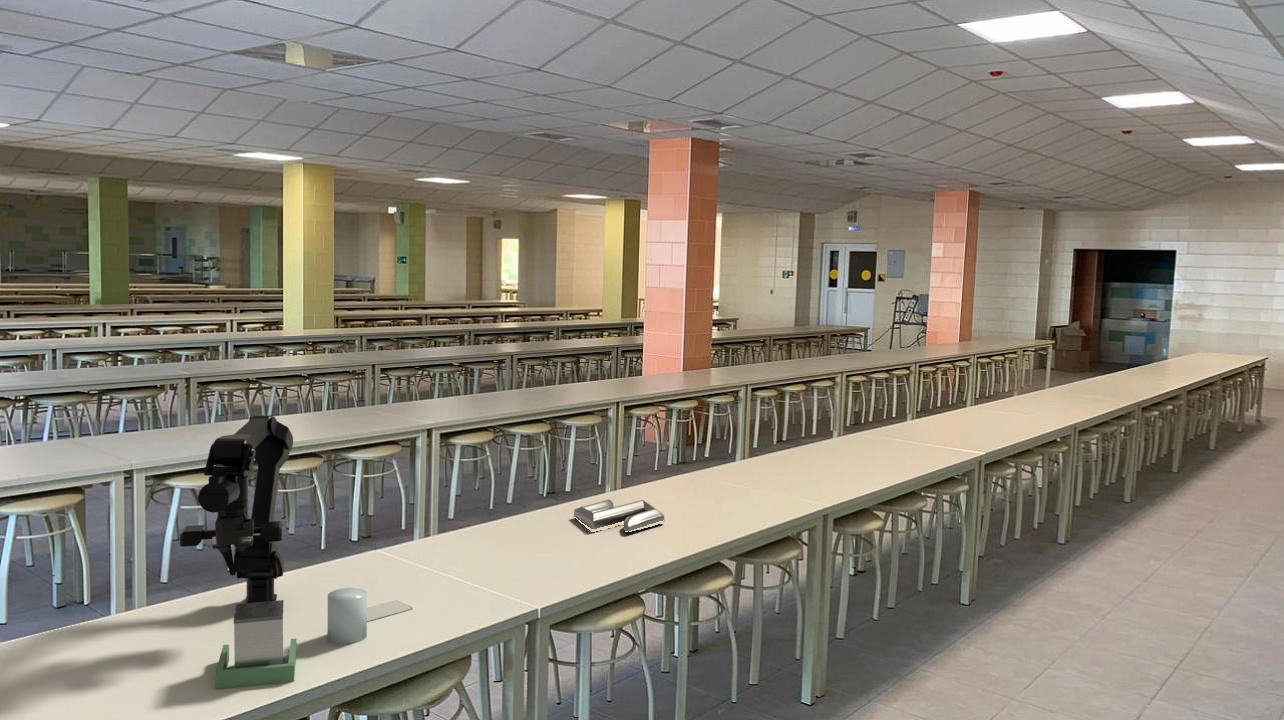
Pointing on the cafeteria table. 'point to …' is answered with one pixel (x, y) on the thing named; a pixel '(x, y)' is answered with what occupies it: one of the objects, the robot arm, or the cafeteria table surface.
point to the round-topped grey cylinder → (347, 615)
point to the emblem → (618, 514)
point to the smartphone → (386, 610)
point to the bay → (254, 671)
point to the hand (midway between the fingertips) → (233, 574)
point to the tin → (258, 634)
